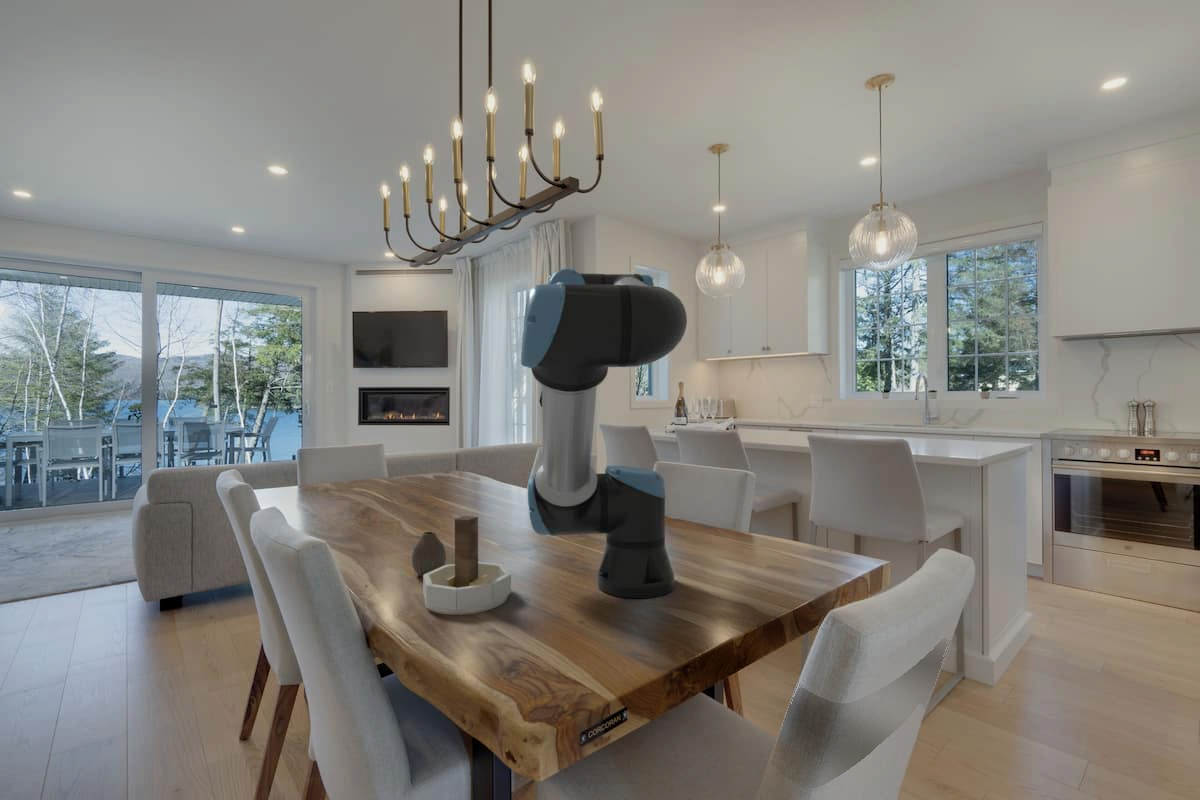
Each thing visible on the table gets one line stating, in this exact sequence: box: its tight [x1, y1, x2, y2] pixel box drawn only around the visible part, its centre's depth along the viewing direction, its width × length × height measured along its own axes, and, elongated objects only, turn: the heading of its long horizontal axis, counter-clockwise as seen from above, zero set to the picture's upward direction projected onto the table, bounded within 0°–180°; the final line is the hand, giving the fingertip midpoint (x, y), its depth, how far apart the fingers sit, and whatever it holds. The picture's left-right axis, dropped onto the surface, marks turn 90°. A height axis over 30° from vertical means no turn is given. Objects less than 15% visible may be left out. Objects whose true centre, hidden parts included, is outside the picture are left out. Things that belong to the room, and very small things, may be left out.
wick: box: [454, 515, 479, 588], centre depth 100 cm, size 3×3×14 cm
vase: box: [411, 531, 447, 578], centre depth 114 cm, size 7×7×9 cm
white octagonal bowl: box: [422, 561, 512, 616], centre depth 100 cm, size 15×15×4 cm
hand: (565, 435), depth 123 cm, fingers open, 13 cm apart
